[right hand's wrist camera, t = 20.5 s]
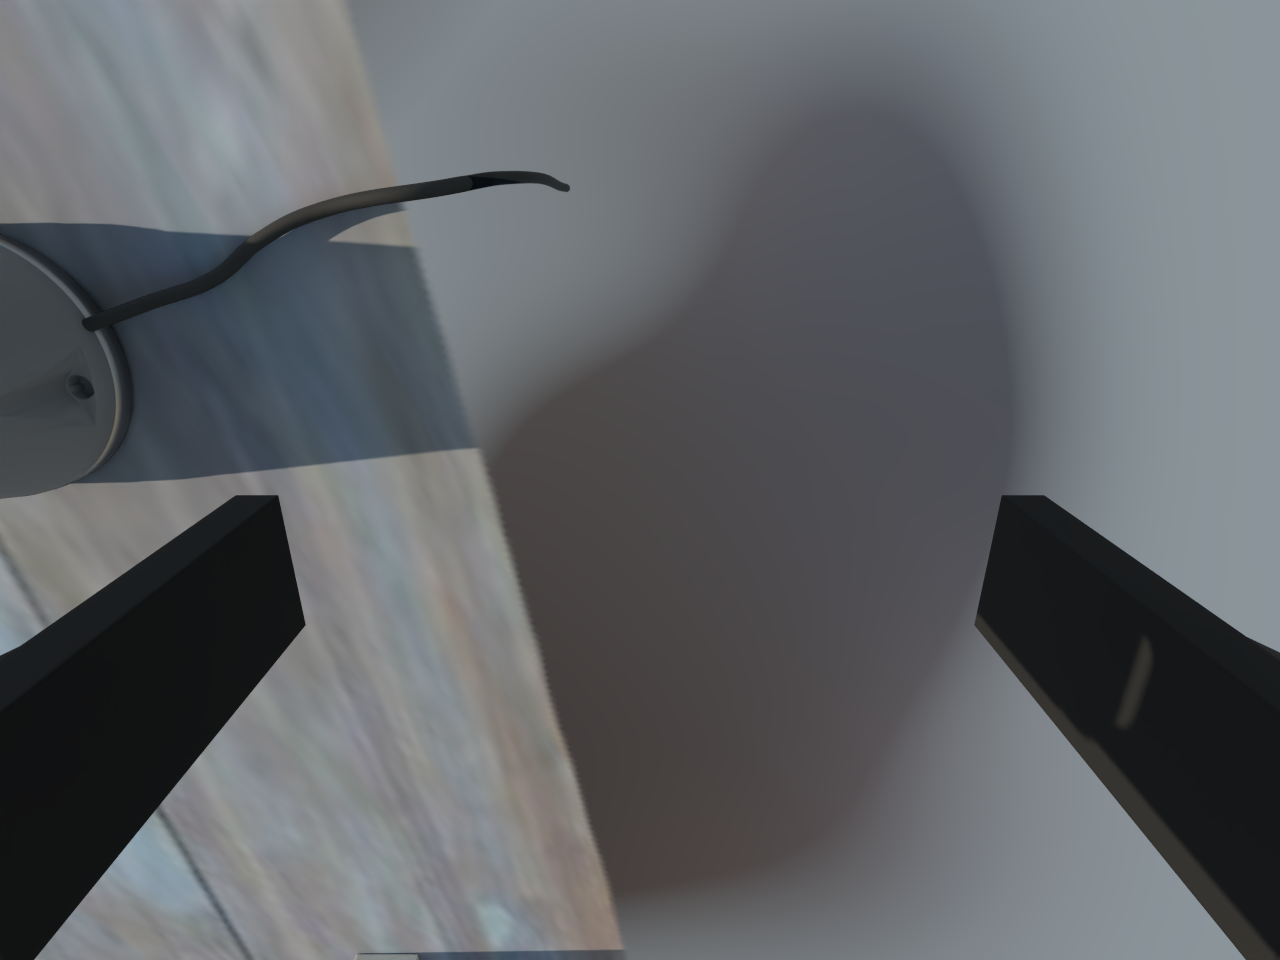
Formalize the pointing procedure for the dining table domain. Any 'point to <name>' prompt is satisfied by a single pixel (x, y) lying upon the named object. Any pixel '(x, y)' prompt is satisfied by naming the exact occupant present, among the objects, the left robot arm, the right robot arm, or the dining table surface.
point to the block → (387, 957)
